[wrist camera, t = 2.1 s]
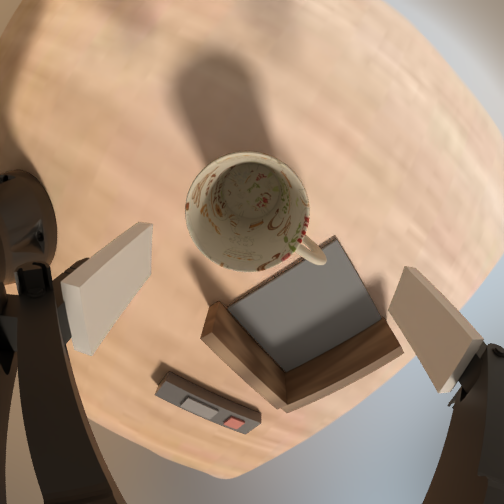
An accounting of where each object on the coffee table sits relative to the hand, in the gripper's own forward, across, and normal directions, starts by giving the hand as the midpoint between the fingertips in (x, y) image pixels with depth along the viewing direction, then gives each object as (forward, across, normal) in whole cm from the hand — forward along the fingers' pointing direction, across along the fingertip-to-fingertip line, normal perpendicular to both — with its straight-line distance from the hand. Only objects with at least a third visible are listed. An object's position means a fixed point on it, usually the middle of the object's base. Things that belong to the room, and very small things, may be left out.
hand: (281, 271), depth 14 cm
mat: (+16, +7, -12) cm, 21 cm away
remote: (+16, -3, -31) cm, 35 cm away
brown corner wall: (+16, +7, -13) cm, 21 cm away
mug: (+16, 0, 0) cm, 16 cm away
